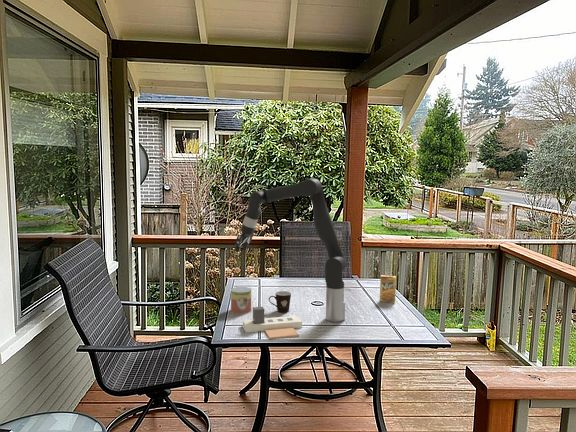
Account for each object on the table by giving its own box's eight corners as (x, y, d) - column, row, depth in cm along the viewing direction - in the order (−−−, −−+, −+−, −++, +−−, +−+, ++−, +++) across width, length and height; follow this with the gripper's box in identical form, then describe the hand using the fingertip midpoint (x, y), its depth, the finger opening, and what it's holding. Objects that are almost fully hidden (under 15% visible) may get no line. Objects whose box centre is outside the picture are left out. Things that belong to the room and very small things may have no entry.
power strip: (296, 321, 230) (296, 315, 230) (302, 327, 222) (302, 321, 221) (242, 325, 223) (242, 319, 223) (246, 332, 214) (245, 326, 214)
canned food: (232, 314, 239) (232, 293, 238) (229, 308, 250) (229, 287, 249) (253, 313, 242) (253, 291, 241) (249, 306, 253) (249, 286, 252)
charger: (262, 326, 223) (262, 306, 222) (264, 328, 219) (264, 309, 218) (252, 326, 222) (252, 307, 221) (254, 329, 218) (254, 309, 217)
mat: (292, 328, 219) (292, 327, 219) (298, 336, 210) (298, 334, 210) (264, 331, 216) (264, 329, 216) (269, 339, 206) (269, 337, 206)
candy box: (379, 301, 265) (380, 276, 264) (380, 299, 269) (381, 274, 268) (394, 303, 263) (395, 277, 261) (395, 301, 267) (396, 275, 265)
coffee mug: (292, 309, 249) (292, 291, 248) (288, 314, 241) (288, 296, 240) (272, 307, 253) (272, 290, 251) (268, 312, 244) (268, 294, 243)
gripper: (248, 229, 242) (239, 255, 246) (260, 225, 255) (251, 251, 259) (237, 223, 245) (228, 249, 249) (250, 220, 258) (241, 245, 262)
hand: (240, 250), depth 254 cm, fingers open, 8 cm apart
